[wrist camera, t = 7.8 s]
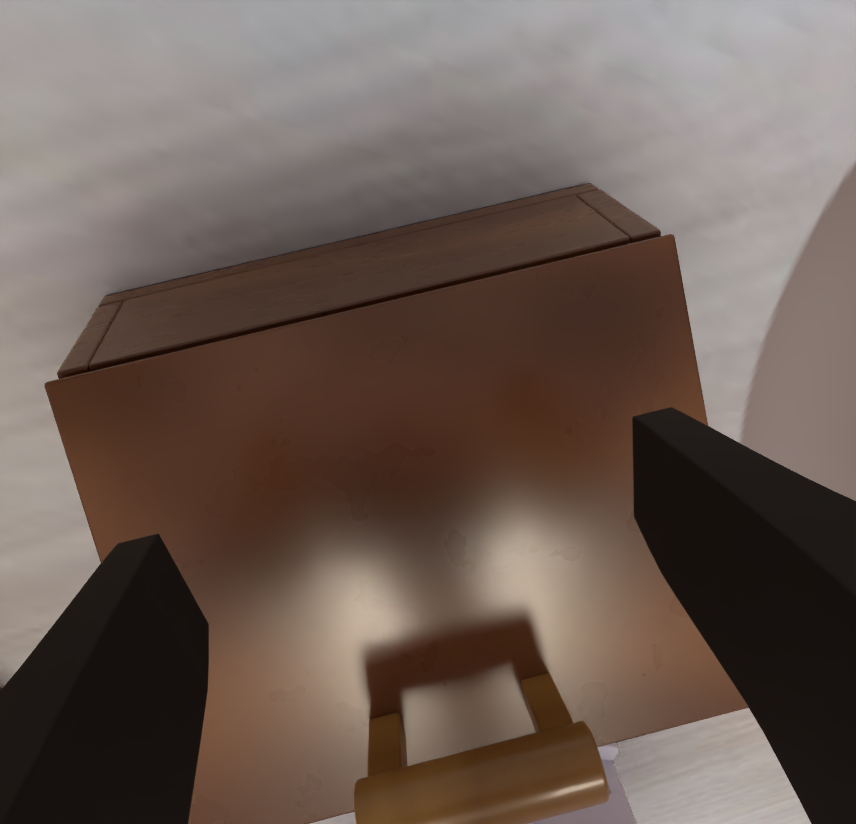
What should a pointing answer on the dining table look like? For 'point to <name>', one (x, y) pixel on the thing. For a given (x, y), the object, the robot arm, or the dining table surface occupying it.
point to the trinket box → (352, 275)
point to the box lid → (415, 541)
